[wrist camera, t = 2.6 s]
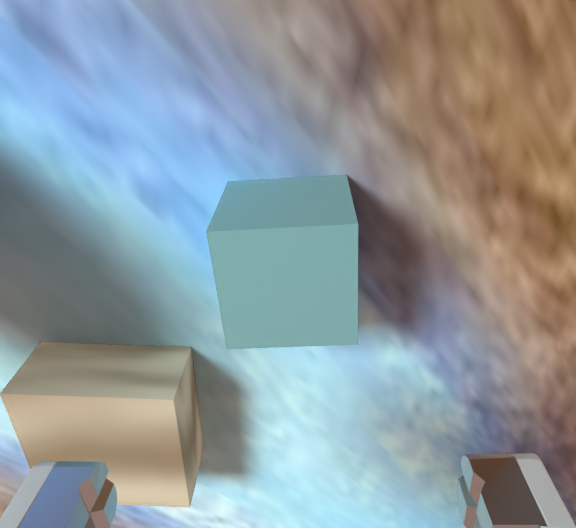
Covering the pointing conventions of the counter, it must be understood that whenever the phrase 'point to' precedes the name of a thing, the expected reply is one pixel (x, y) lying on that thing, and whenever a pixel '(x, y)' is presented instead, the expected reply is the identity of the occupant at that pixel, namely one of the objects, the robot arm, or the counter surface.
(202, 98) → the counter surface
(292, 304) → the teal cube
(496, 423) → the counter surface
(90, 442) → the maple block
